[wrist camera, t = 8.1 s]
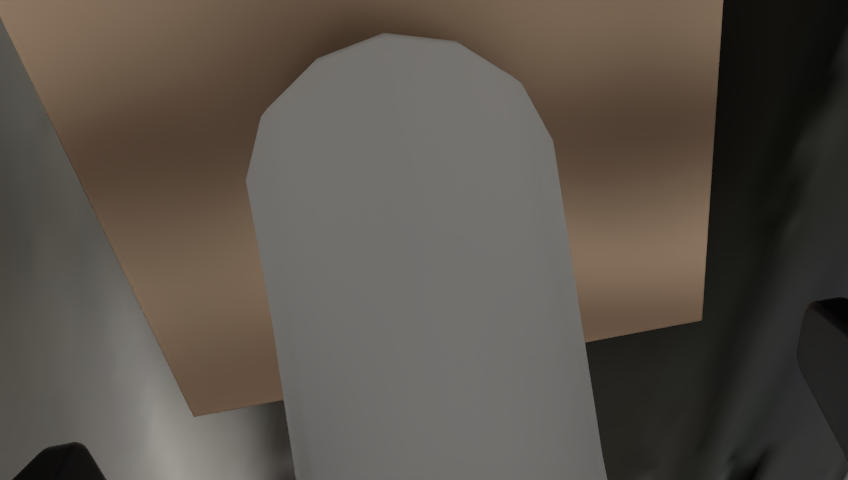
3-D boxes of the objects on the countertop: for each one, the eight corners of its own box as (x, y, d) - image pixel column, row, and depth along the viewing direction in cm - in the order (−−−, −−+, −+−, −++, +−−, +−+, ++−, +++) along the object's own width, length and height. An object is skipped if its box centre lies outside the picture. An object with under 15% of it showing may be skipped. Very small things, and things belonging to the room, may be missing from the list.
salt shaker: (258, 240, 17) (95, 1117, 6) (260, -13, 14) (-76, 804, 3) (501, 255, 17) (771, 1036, 7) (554, 19, 14) (1212, 732, 4)
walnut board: (692, 306, 20) (701, 320, 19) (197, 401, 20) (193, 416, 19) (729, -328, 12) (745, -333, 12) (-73, -173, 12) (-90, -171, 12)
